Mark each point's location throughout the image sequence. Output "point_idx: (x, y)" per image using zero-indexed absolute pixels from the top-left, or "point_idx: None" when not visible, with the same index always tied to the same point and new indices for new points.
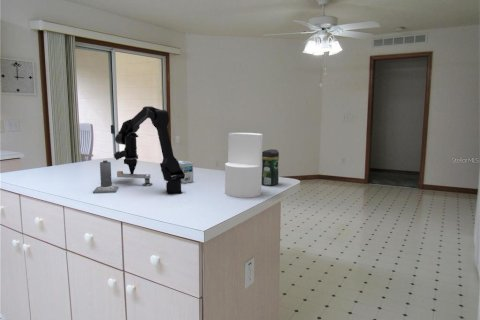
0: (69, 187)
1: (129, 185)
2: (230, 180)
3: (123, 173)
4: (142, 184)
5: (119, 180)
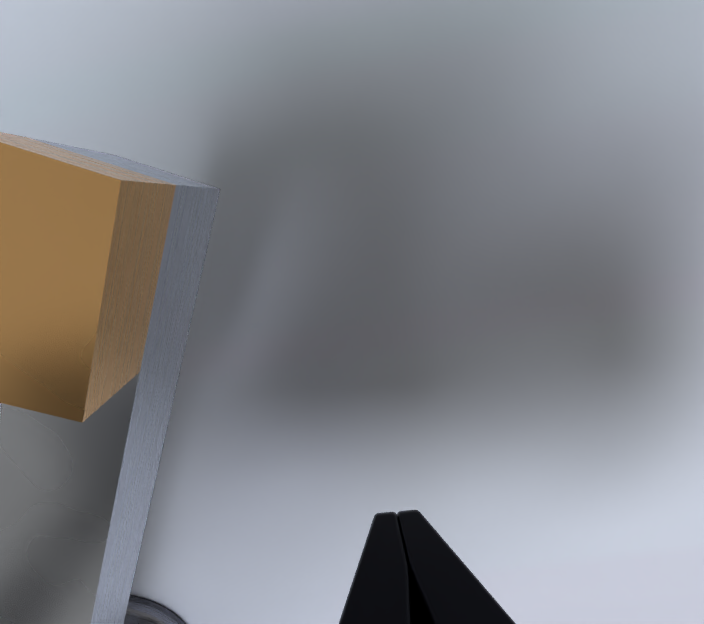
0: None
1: None
2: None
3: (127, 396)
4: None
5: (567, 151)
